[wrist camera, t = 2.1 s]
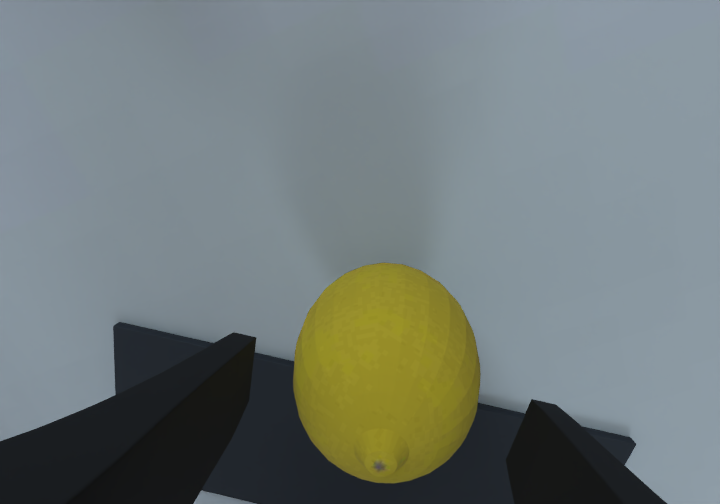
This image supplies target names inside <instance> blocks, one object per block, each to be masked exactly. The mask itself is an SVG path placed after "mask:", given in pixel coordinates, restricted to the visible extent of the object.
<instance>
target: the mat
mask: <svg viewBox="0 0 720 504" xmlns="http://www.w3.org/2000/svg"><path fill="white" fill-rule="evenodd" d="M113 330H114V360H115V389H116V395H117V394H119V393H121V392H123V391H125V390H127V389H129V388H131V387H133V386H135V385H137V384H139V383H141V382H143V381H145V380H147V379H149V378H151V377H153V376H155V375H157V374H159V373H161V372H163V371H165V370H167V369H169V368H171V367H172V366H174V365H176V364H178V363H180V362H182V361H183V360H185V359H187V358H189V357H191V356H193V355H194V354H196V353H198V352H200V351H201V350H203V349H205V348H207V347H208V346H210V345H212V344H214V343H210V342H205V341H201V340H196V339H192V338H188V337H183V336H179V335H174V334H170V333H165V332H161V331H157V330H152V329H148V328H143V327H139V326H134V325H130V324H126V323H121V322H119V323H117V324H116V325H114V326H113ZM293 374H294V361H289V360H285V359H280V358H276V357H272V356H267V355H263V354H258V353H254V362H253V370H252V379H251V388H250V397H249V402H248V404H247V407H246V409H245V411H244V413H243V416H242V418H241V420H240V422H239V424H238V426H237V429H236V431H235V433H234V435H233V437H232V439H231V441H230V443H229V444H228V446H227V448H226V449H225V451H224V453H223V454H222V456H221V458H220V459H219V461H218V463H217V465H216V466H215V468H214V470H213V471H212V473H211V475H210V476H209V478H208V480H207V481H206V483H205V485H204V486H203V488H202V490H203V491H207V492H211V493H216V494H220V495H224V496H228V497H232V498H236V499H241V500H245V501H249V502H253V503H257V504H514V499H513V495H512V490H511V486H510V481H509V475H508V470H507V464H506V458H507V455H508V453H509V451H510V449H511V446H512V444H513V442H514V439H515V437H516V435H517V432H518V430H519V428H520V425H521V423H522V421H523V418H524V416H525V414H524V413H520V412H515V411H511V410H506V409H502V408H497V407H493V406H489V405H484V404H480V403H478V405H477V411H476V415H475V418H474V421H473V423H472V425H471V427H470V430H469V432H468V434H467V436H466V438H465V440H464V441H463V443H462V445H461V446H460V447H459V448H458V449H457V451H456V452H455V453H454V454H453V455H452V456H451V457H450V459H448V460H447V461H446V462H445V463H444V464H442V465H441V466H439V467H438V468H436V469H435V470H433V471H432V472H431V473H429V474H426V475H423V476H421V477H418V478H416V479H413V480H410V481H405V482H399V483H376V482H371V481H367V480H363V479H360V478H358V477H355V476H353V475H351V474H349V473H346V472H345V471H343V470H341V469H340V468H339V467H337V466H336V465H334V464H333V463H332V462H330V461H329V460H328V459H327V458H326V457H325V456H324V455H323V454H322V453H321V452H320V450H319V449H318V448H317V447H316V446H315V445H314V444H313V442H312V441H311V440H310V438H309V436H308V434H307V432H306V430H305V428H304V426H303V424H302V422H301V420H300V418H299V414H298V409H297V405H296V400H295V395H294V390H293ZM583 428H584V429H585V430H586V431H587V432H588V433H589V434H590V435H592V436H593V437H594V438H595V439H596V440H597V441H598V442H599V443H600V444H601V445H602V446H604V447H605V448H606V449H607V450H608V451H609V452H610V453H611V454H612V455H613V456H614V457H616V458H617V459H618V460H619V461H620V462H621V463H622V464H623V465H625V463H626V461H627V460H628V458H629V456H630V454H631V453H632V451H633V449H634V447H635V446H636V443H635V442H634V441H633V440H632V438H630V437H626V436H621V435H617V434H613V433H608V432H604V431H599V430H595V429H590V428H586V427H583Z"/></svg>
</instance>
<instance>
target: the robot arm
mask: <svg viewBox="0 0 720 504" xmlns="http://www.w3.org/2000/svg"><path fill="white" fill-rule="evenodd" d="M255 344H256V337H251V336H247V335H243V334H238V333H232V334H230V335H228V336H226V337H224V338H223V339H221V340H219V341H217V342H215V343H214V344H212V345H210V346H208V347H207V348H205V349H203V350H201V351H200V352H198V353H196V354H194V355H193V356H191V357H189V358H187V359H185V360H183V361H182V362H180V363H178V364H176V365H174V366H172V367H171V368H169V369H167V370H165V371H163V372H161V373H159V374H157V375H155V376H153V377H151V378H149V379H147V380H145V381H143V382H141V383H139V384H137V385H135V386H133V387H131V388H129V389H127V390H125V391H123V392H121V393H119V394H117V395H115V396H113V397H111V398H108V399H106V400H104V401H102V402H100V403H97V404H95V405H93V406H91V407H88V408H86V409H84V410H81V411H79V412H76V413H74V414H72V415H69V416H67V417H64V418H62V419H59V420H57V421H55V422H52V423H50V424H47V425H44V426H42V427H39V428H37V429H34V430H31V431H28V432H26V433H23V434H20V435H17V436H14V437H12V438H9V439H6V440H3V441H0V504H193V503H194V501H195V500H196V498H197V496H198V495H199V493H200V491H201V490H202V488H203V486H204V485H205V483H206V481H207V480H208V478H209V476H210V475H211V473H212V471H213V470H214V468H215V466H216V465H217V463H218V461H219V459H220V458H221V456H222V454H223V453H224V451H225V449H226V448H227V446H228V444H229V443H230V441H231V439H232V437H233V435H234V433H235V431H236V429H237V426H238V424H239V422H240V420H241V418H242V416H243V413H244V411H245V409H246V407H247V404H248V402H249V397H250V388H251V379H252V370H253V362H254V353H255ZM506 464H507V470H508V475H509V481H510V486H511V490H512V495H513V499H514V504H667V503H666V502H665V501H663V500H662V499H661V498H660V497H659V496H658V495H657V494H655V493H654V492H653V491H652V490H651V489H650V488H649V487H648V486H646V485H645V484H644V483H643V482H642V481H641V480H640V479H639V478H638V477H636V476H635V475H634V474H633V473H632V472H631V471H630V470H629V469H628V468H627V467H625V466H624V465H623V464H622V463H621V462H620V461H619V460H618V459H617V458H616V457H614V456H613V455H612V454H611V453H610V452H609V451H608V450H607V449H606V448H605V447H604V446H602V445H601V444H600V443H599V442H598V441H597V440H596V439H595V438H594V437H593V436H592V435H590V434H589V433H588V432H587V431H586V430H585V429H584V428H583V427H582V426H580V425H579V424H578V423H577V422H576V421H575V420H574V419H573V418H571V417H570V416H569V415H568V414H567V413H565V412H564V411H563V410H562V409H561V408H559V407H558V406H557V405H555V404H550V403H546V402H541V401H537V400H531V402H530V404H529V407H528V409H527V411H526V414H525V416H524V418H523V421H522V423H521V425H520V428H519V430H518V432H517V435H516V437H515V439H514V442H513V444H512V446H511V449H510V451H509V453H508V455H507V458H506Z"/></svg>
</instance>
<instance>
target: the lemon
mask: <svg viewBox="0 0 720 504" xmlns="http://www.w3.org/2000/svg"><path fill="white" fill-rule="evenodd" d="M479 388H480V363H479V357H478V352H477V347H476V342H475V337H474V333H473V330H472V328H471V326H470V324H469V322H468V320H467V318H466V316H465V314H464V312H463V310H462V308H461V306H460V305H459V303H458V302H457V300H456V299H455V298H454V297H453V296H452V295H451V294H450V293H449V292H448V291H447V290H446V289H445V287H444V286H443V285H442V284H441V283H440V282H438V281H436V280H435V279H433V278H432V277H430V276H428V275H427V274H425V273H424V272H422V271H420V270H417V269H414V268H411V267H408V266H406V265H403V264H391V263H379V264H372V265H366V266H362V267H360V268H358V269H355V270H353V271H350V272H348V273H346V274H344V275H343V276H341V277H340V278H339V279H337V280H336V281H335V282H333V283H332V284H331V285H329V286H328V287H327V288H326V289H325V290H324V292H323V293H322V294H321V295H320V297H319V298H318V299H317V301H316V302H315V303H314V305H313V306H312V307H311V309H310V311H309V312H308V314H307V317H306V319H305V322H304V324H303V327H302V330H301V332H300V335H299V337H298V341H297V345H296V350H295V361H294V374H293V390H294V395H295V400H296V405H297V409H298V414H299V418H300V420H301V422H302V424H303V426H304V428H305V430H306V432H307V434H308V436H309V438H310V440H311V441H312V442H313V444H314V445H315V446H316V447H317V448H318V449H319V450H320V452H321V453H322V454H323V455H324V456H325V457H326V458H327V459H328V460H329V461H330V462H332V463H333V464H334V465H336V466H337V467H339V468H340V469H341V470H343V471H345V472H346V473H349V474H351V475H353V476H355V477H358V478H360V479H363V480H367V481H371V482H376V483H399V482H405V481H410V480H413V479H416V478H418V477H421V476H423V475H426V474H429V473H431V472H432V471H433V470H435V469H436V468H438V467H439V466H441V465H442V464H444V463H445V462H446V461H447V460H448V459H450V457H451V456H452V455H453V454H454V453H455V452H456V451H457V449H458V448H459V447H460V446H461V445H462V443H463V441H464V440H465V438H466V436H467V434H468V432H469V430H470V427H471V425H472V423H473V421H474V418H475V415H476V411H477V405H478V396H479Z"/></svg>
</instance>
